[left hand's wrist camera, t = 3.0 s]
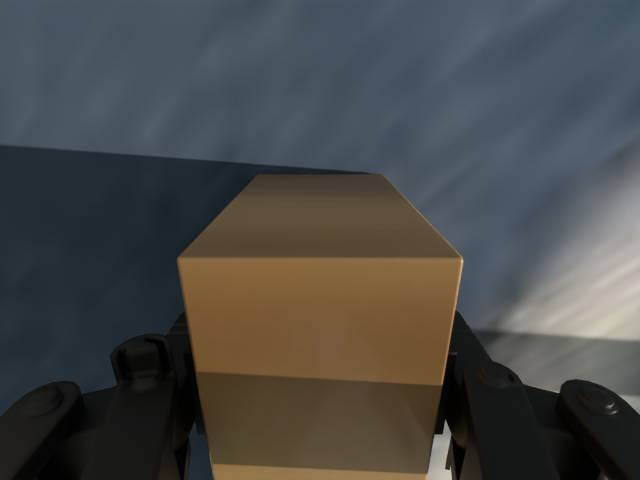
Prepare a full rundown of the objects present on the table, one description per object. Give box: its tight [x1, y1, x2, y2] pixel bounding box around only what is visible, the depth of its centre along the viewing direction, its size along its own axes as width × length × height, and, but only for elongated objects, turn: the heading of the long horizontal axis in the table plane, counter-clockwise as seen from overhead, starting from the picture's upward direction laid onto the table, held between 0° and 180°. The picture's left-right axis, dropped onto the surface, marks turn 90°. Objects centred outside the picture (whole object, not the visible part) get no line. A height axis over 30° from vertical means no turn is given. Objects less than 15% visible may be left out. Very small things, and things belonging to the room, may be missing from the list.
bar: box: [177, 174, 463, 480], centre depth 14 cm, size 24×5×8 cm, turn 0°
